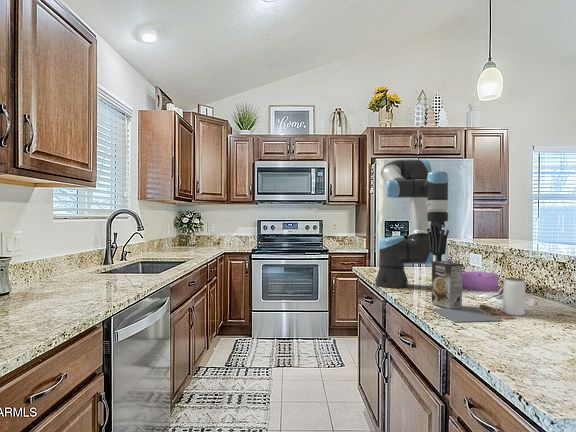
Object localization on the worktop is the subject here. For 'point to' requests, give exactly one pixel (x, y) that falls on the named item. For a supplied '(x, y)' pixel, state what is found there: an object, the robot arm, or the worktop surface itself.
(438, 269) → the coffee box
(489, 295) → the cloth
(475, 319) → the mat
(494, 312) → the turner
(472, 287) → the container set
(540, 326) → the worktop surface
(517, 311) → the can
